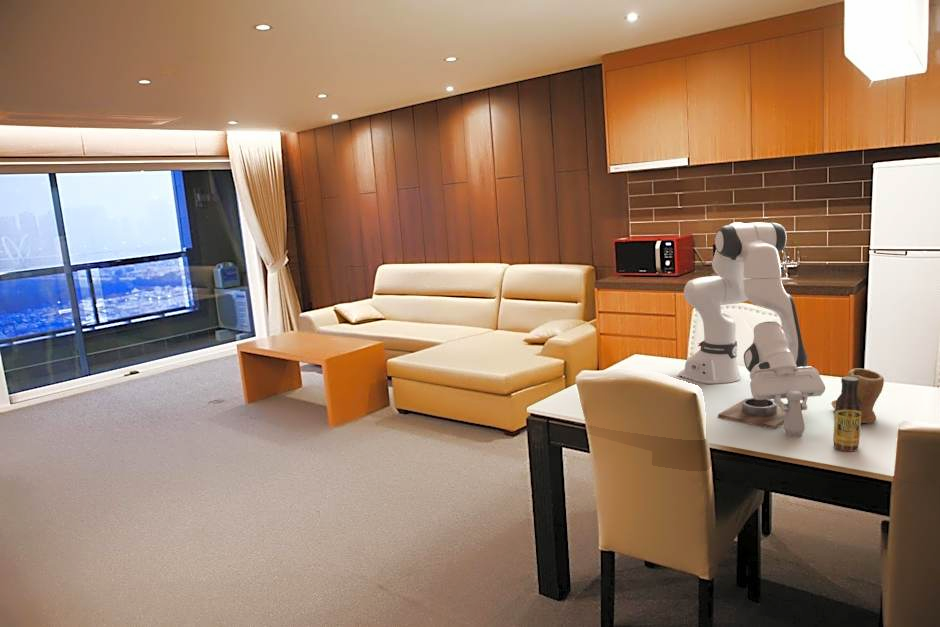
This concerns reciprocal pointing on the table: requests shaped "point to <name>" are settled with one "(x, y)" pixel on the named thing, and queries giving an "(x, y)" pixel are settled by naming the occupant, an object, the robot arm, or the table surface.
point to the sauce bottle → (847, 416)
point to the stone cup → (866, 391)
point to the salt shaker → (794, 415)
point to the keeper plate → (737, 415)
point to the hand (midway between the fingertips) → (794, 410)
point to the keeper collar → (759, 407)
